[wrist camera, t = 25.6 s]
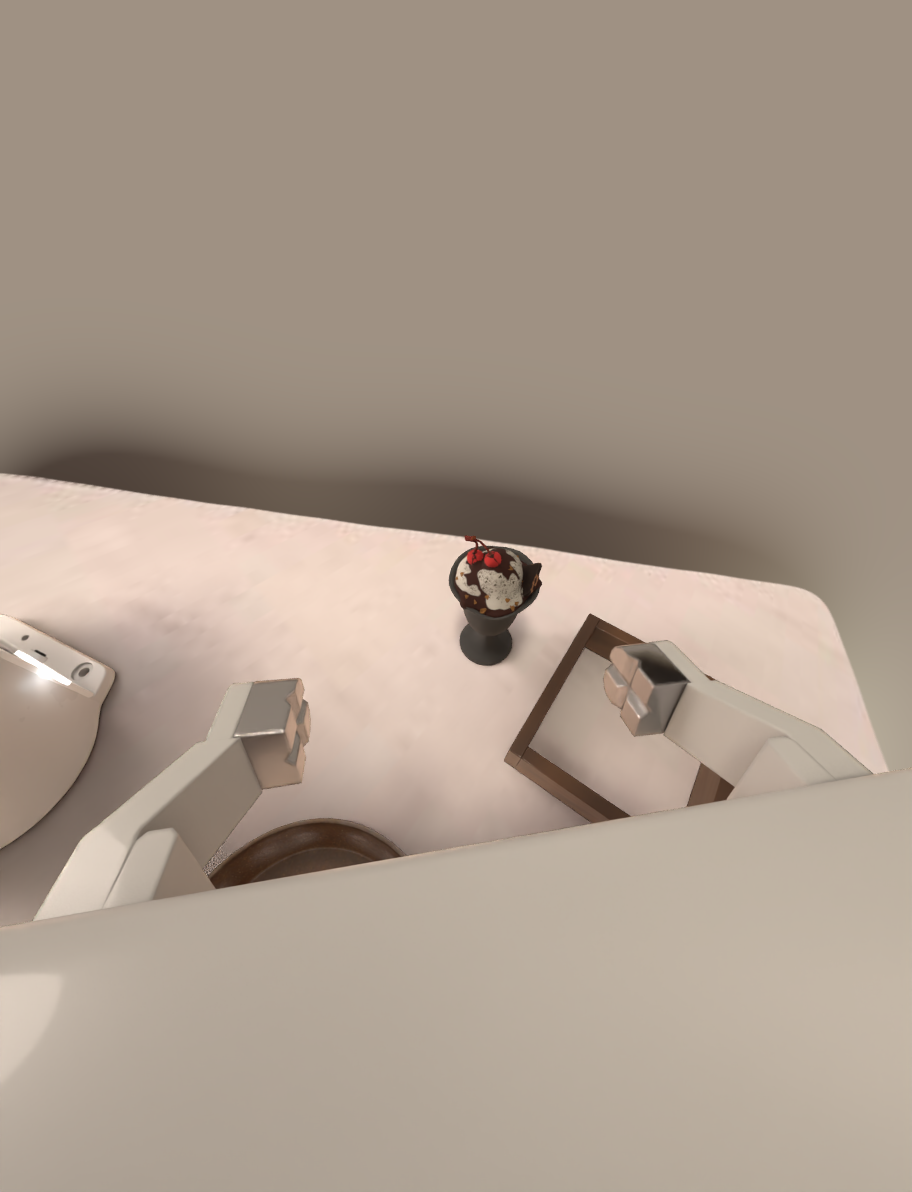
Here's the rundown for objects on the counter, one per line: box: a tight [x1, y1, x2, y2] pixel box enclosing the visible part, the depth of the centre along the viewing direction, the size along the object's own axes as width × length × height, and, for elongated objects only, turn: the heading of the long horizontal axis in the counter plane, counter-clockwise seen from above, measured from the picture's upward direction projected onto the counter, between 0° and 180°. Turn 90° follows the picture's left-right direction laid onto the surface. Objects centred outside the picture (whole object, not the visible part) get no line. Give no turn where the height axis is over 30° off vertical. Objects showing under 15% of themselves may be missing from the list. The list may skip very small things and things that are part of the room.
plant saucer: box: [208, 818, 406, 889], centre depth 23 cm, size 18×18×3 cm
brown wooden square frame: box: [504, 614, 735, 823], centre depth 31 cm, size 14×14×4 cm
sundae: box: [449, 536, 542, 665], centre depth 31 cm, size 7×7×15 cm
